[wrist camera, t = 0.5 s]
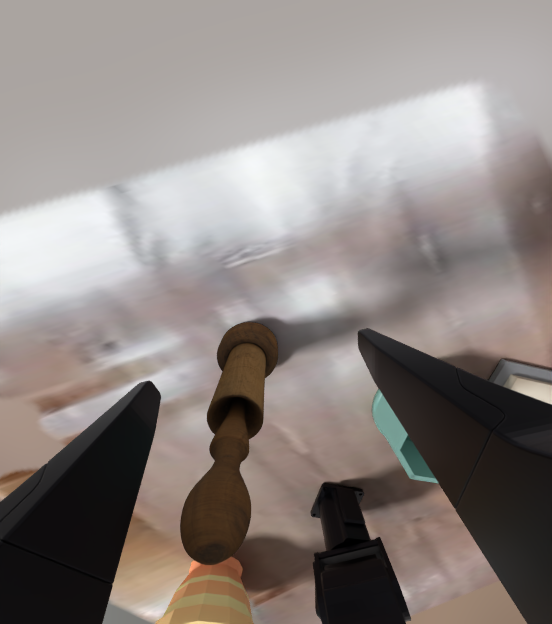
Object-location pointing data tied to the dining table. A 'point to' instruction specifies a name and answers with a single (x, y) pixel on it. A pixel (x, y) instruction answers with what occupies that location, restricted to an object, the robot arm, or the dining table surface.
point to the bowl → (400, 440)
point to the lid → (530, 387)
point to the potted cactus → (210, 596)
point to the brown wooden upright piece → (229, 446)
